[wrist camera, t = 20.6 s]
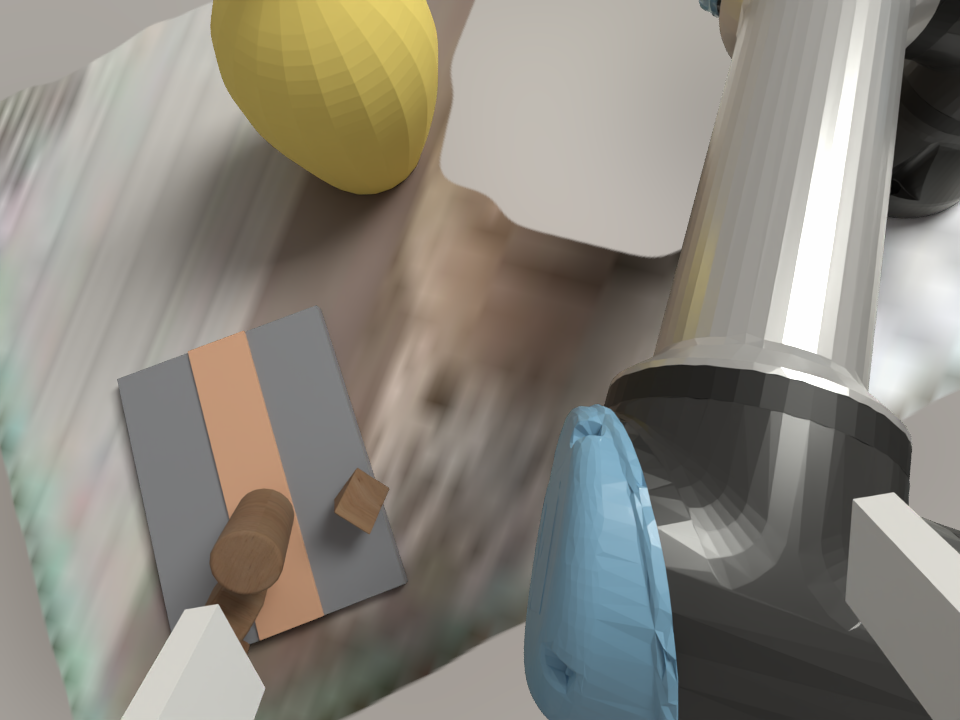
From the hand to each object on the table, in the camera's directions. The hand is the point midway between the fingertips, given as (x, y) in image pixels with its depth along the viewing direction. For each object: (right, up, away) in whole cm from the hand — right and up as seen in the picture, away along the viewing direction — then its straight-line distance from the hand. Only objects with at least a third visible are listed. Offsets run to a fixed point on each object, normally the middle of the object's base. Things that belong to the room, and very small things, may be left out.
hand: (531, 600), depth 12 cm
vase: (-12, +25, +42) cm, 50 cm away
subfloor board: (-19, -5, +35) cm, 40 cm away
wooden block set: (-16, -11, +32) cm, 37 cm away
